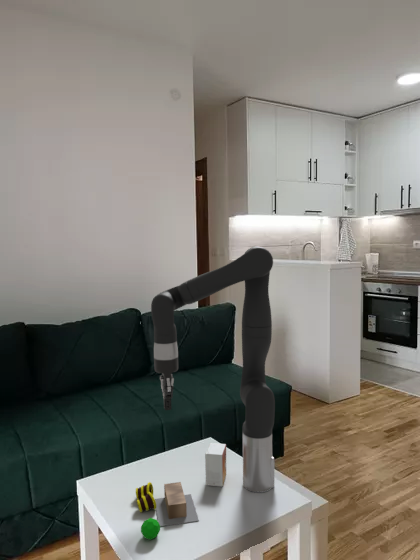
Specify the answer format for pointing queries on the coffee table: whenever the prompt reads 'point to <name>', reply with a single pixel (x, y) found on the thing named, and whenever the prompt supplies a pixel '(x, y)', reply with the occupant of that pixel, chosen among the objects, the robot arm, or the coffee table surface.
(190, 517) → the mat
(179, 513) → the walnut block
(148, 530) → the polyhedron
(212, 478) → the small box
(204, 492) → the coffee table surface
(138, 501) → the opera glasses
